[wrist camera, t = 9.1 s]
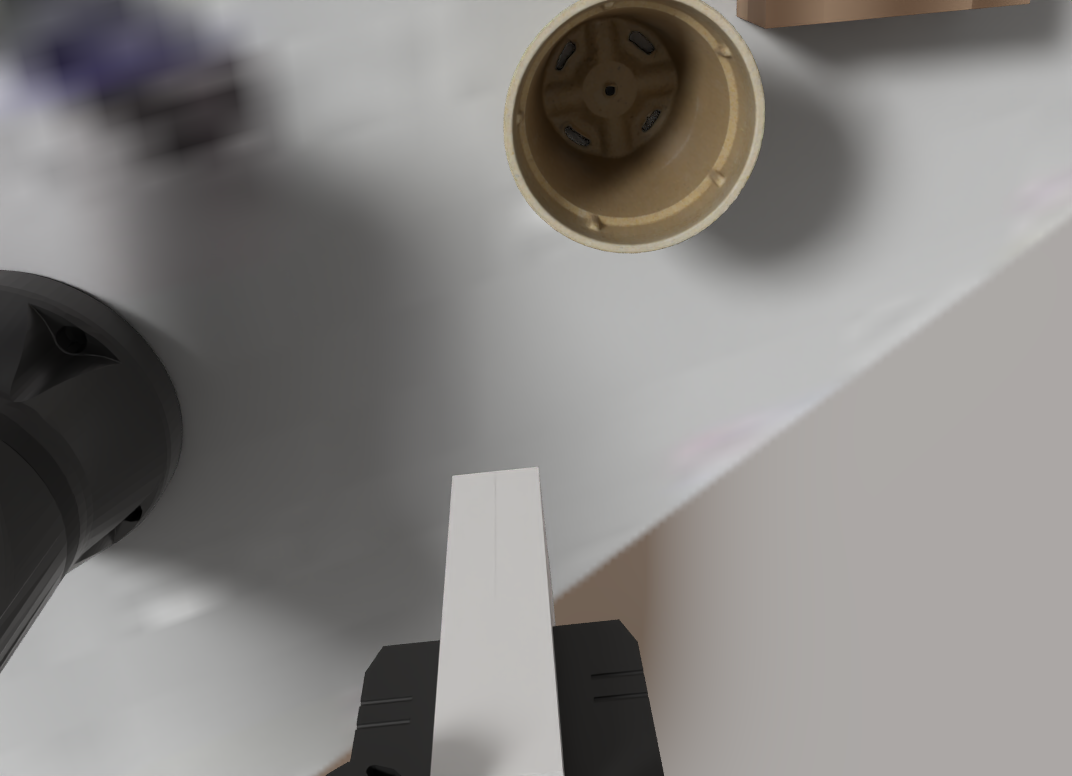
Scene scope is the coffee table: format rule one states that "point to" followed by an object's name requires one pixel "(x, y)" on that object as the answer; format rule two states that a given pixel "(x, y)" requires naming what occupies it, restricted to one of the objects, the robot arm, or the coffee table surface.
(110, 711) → the coffee table surface
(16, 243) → the coffee table surface
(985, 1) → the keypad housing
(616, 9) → the flower pot
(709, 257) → the coffee table surface
